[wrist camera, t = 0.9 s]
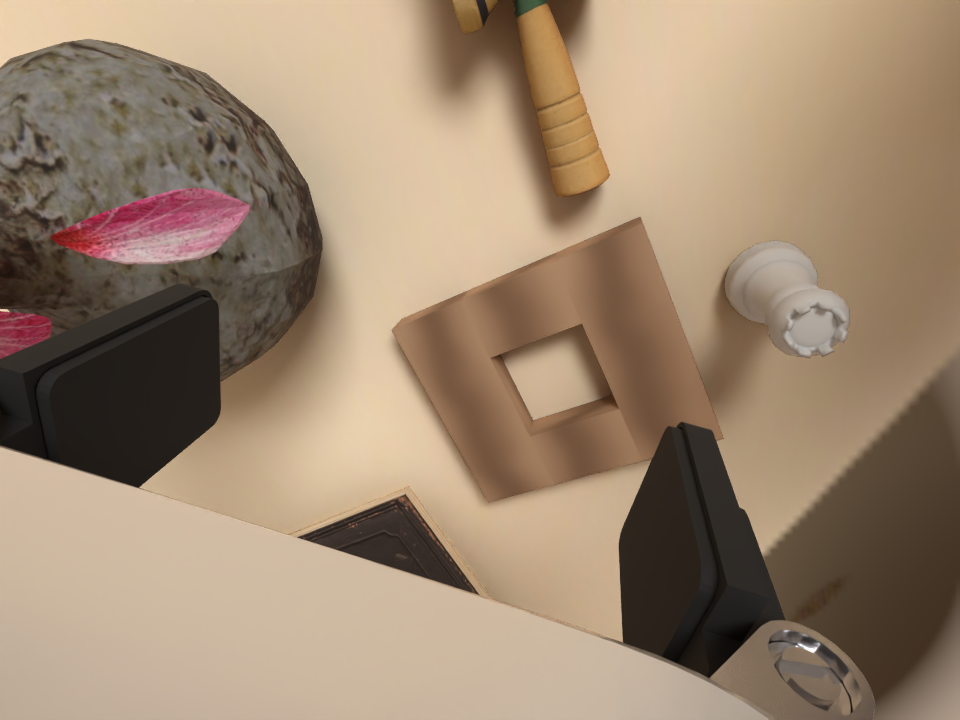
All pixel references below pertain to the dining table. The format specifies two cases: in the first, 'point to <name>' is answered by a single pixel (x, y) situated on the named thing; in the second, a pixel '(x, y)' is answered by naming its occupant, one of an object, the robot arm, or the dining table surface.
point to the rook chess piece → (787, 299)
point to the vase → (144, 199)
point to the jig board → (538, 314)
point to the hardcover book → (395, 539)
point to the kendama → (550, 94)
